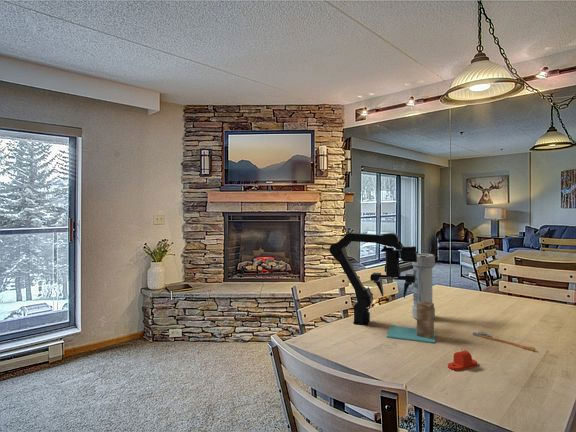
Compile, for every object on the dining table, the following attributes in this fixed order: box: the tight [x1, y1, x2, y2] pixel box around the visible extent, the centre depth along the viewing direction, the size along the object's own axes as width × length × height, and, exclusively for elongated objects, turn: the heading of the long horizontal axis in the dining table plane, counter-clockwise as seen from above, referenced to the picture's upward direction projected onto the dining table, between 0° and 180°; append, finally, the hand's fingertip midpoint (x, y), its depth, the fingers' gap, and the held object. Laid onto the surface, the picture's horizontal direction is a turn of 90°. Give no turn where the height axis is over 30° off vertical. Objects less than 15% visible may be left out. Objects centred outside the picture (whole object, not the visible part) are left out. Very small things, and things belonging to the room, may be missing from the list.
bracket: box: [447, 350, 478, 372], centre depth 117 cm, size 12×4×5 cm, turn 114°
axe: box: [472, 331, 536, 353], centre depth 139 cm, size 22×6×2 cm, turn 36°
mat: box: [386, 325, 436, 344], centre depth 147 cm, size 18×14×1 cm
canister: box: [411, 252, 436, 320], centre depth 169 cm, size 10×10×30 cm
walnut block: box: [416, 301, 435, 339], centre depth 144 cm, size 5×5×13 cm
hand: (393, 297), depth 157 cm, fingers open, 9 cm apart
